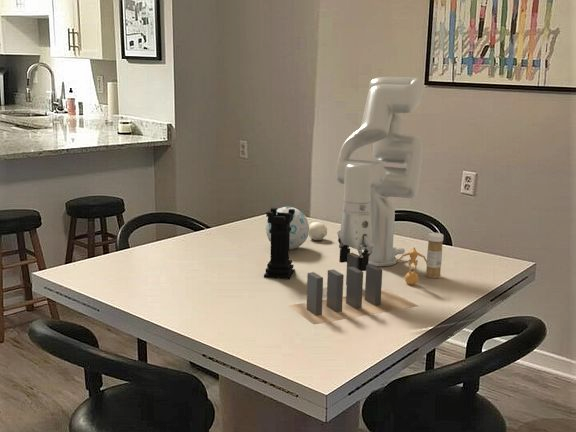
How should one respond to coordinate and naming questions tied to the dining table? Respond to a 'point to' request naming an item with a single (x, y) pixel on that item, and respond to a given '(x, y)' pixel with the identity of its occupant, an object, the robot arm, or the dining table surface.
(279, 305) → the dining table surface
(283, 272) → the chess piece
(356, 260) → the domino
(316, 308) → the domino
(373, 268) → the domino
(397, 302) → the cork mat
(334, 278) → the domino
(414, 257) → the figurine
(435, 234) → the sprinkles bottle
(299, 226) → the puzzle ball
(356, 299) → the domino
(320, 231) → the cream round ball
